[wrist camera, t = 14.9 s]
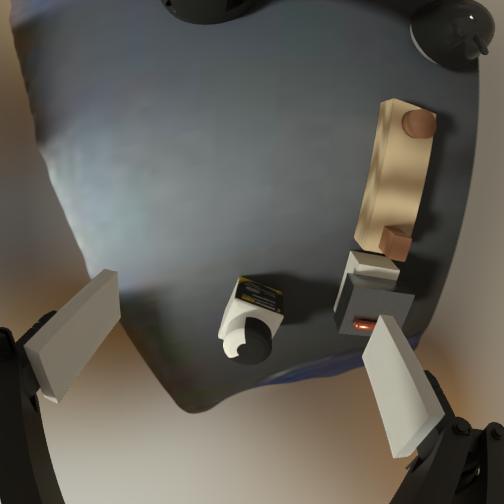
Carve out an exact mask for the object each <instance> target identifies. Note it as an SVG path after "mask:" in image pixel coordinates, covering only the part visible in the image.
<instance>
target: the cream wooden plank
mask: <svg viewBox="0 0 504 504" xmlns="http://www.w3.org/2000/svg"><path fill="white" fill-rule="evenodd" d="M436 129H437V123H436V114H435V113H432V112H430V111H428V110H426V109H422V108H419V107H417V106H414V105H411V104H409V103H406V102H403V101H400V100H397V99H391V100H387V101H384V102H381V105H380V112H379V118H378V125H377V131H376V137H375V143H374V148H373V154H372V159H371V164H370V169H369V174H368V179H367V184H366V189H365V193H364V198H363V202H362V207H361V211H360V215H359V219H358V223H357V227H356V231H355V235H354V239H355V240H356V241H357V242H358V244H359V245H360V246H361V248H362V249H363V250H367V251H372V252H378V253H383V254H385V256H386V257H387V258H388V259H391V260H397V261H402V262H405V260H406V257H407V254H408V251H409V248H410V245H411V241H412V238H411V234H412V231H413V227H414V224H415V220H416V216H417V212H418V208H419V204H420V200H421V196H422V192H423V188H424V183H425V178H426V174H427V169H428V164H429V158H430V153H431V147H432V141H433V135H434V134H435V132H436Z"/></svg>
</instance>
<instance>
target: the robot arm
mask: <svg viewBox="0 0 504 504" xmlns="http://www.w3.org/2000/svg"><path fill="white" fill-rule="evenodd" d="M258 1H259V0H161V2H162V3H163V5H164V6H165V7H166V9H167V10H168V11H169V12H170V13H171V14H172V15H173V16H175V17H176V18H178V19H180V20H182V21H185V22H188V23H193V24H216V23H221V22H225V21H228V20H231V19H234V18H236V17H238V16H240V15H242V14H244V13H245V12H247V11H248V10H250V9H251V8H252V7H253V6H254V5H255V4H256V3H257V2H258ZM120 318H121V316H120V305H119V292H118V276H117V272H116V271H111V270H107V269H104V270H103V271H102V272H101V273H99V274H98V275H97V276H96V277H95V278H94V279H93V280H91V281H90V282H89V283H88V284H87V285H86V286H85V287H84V288H83V289H82V290H80V291H79V292H78V293H77V294H76V295H75V296H74V297H73V298H72V299H71V300H70V301H69V302H68V303H66V304H65V305H64V306H63V307H62V308H61V309H60V310H59V311H58V312H57V311H51V312H49V313H47V314H45V315H44V316H43V317H42V318H41V319H39V320H38V322H37V323H35V324H34V325H33V326H32V328H30V329H29V330H28V331H27V332H26V333H25V334H24V335H23V336H22V337H21V338H20V339H19V340H18V341H17V342H16V343H15V341H14V338H13V335H12V332H11V331H10V330H9V329H7V328H5V327H0V500H1V504H65V502H64V500H63V497H62V494H61V491H60V488H59V485H58V482H57V479H56V476H55V473H54V469H53V465H52V462H51V459H50V454H49V451H48V447H47V442H46V438H45V434H44V429H43V424H42V419H41V413H40V407H39V401H38V397H37V394H36V392H37V391H38V390H39V388H41V391H42V393H43V395H44V397H45V398H47V399H49V400H51V401H53V402H55V403H57V404H59V403H60V401H61V400H62V398H63V396H64V395H65V394H66V392H67V391H68V389H69V388H70V386H71V385H72V383H73V382H74V381H75V379H76V378H77V376H78V375H79V373H80V372H81V370H82V369H83V368H84V366H85V365H86V364H87V362H88V361H89V359H90V358H91V356H92V355H93V354H94V352H95V351H96V350H97V348H98V347H99V346H100V344H101V343H102V341H103V340H104V339H105V337H106V336H107V335H108V333H109V332H110V331H111V330H112V328H113V327H114V326H115V324H116V323H117V322H118V320H119V319H120ZM362 358H363V361H364V364H365V367H366V370H367V373H368V376H369V378H370V382H371V385H372V388H373V391H374V394H375V397H376V400H377V404H378V407H379V410H380V413H381V417H382V420H383V423H384V427H385V430H386V433H387V437H388V441H389V444H390V448H391V452H392V455H393V458H399V457H407V456H410V454H411V453H412V452H413V451H414V450H415V449H416V448H417V451H418V454H419V455H418V456H417V457H416V458H415V459H414V460H413V461H412V462H411V463H410V464H409V465H408V466H407V467H406V468H405V469H408V468H409V467H410V466H411V467H410V469H409V471H408V473H407V474H406V476H405V478H404V480H403V482H402V483H401V485H400V487H399V489H398V490H397V492H396V494H395V495H394V497H393V499H392V500H391V502H390V503H389V504H504V427H503V426H502V425H501V424H499V423H496V422H492V423H489V424H488V425H487V427H486V428H485V429H484V430H479V429H472V427H471V425H470V424H469V422H468V421H466V420H465V419H463V418H461V417H455V415H454V413H453V410H452V408H451V406H450V404H449V403H448V401H447V399H446V397H445V395H444V394H443V391H442V389H441V388H440V385H439V383H438V381H437V379H436V378H435V377H434V376H433V375H432V374H431V373H430V372H429V371H428V370H423V369H422V367H421V365H420V363H419V362H418V360H417V358H416V356H415V354H414V352H413V350H412V349H411V347H410V345H409V343H408V341H407V340H406V338H405V336H404V334H403V332H402V331H401V329H400V327H399V326H398V324H397V322H396V320H395V319H394V317H393V316H390V315H380V316H379V318H378V321H377V323H376V326H375V328H374V330H373V333H372V335H371V337H370V340H369V342H368V344H367V347H366V349H365V351H364V353H363V356H362ZM479 468H480V472H479V475H478V469H479Z"/></svg>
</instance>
